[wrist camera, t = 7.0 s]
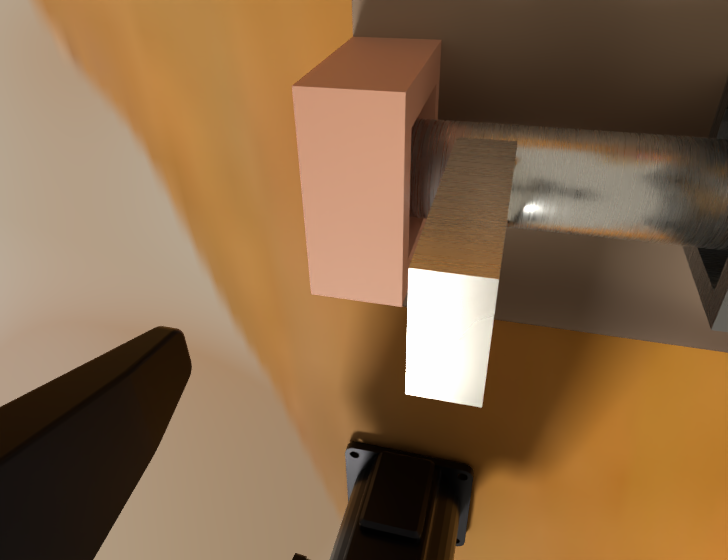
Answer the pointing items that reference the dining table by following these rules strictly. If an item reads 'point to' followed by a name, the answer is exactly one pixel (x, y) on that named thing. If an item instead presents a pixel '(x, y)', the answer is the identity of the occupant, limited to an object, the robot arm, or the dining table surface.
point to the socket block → (363, 163)
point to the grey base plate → (580, 111)
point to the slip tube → (534, 221)
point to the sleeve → (713, 250)
